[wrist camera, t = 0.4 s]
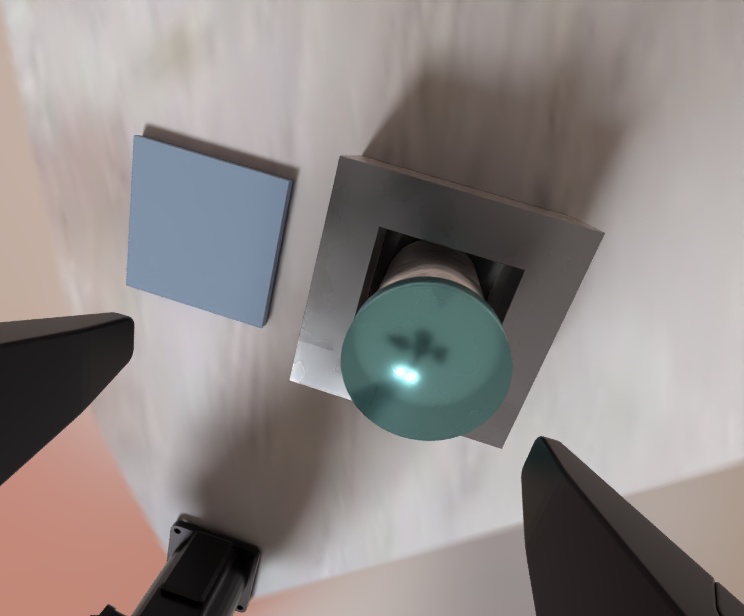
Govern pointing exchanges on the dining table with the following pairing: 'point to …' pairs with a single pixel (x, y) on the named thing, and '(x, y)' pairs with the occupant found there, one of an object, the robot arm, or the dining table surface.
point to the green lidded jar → (427, 348)
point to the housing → (454, 230)
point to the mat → (204, 230)
